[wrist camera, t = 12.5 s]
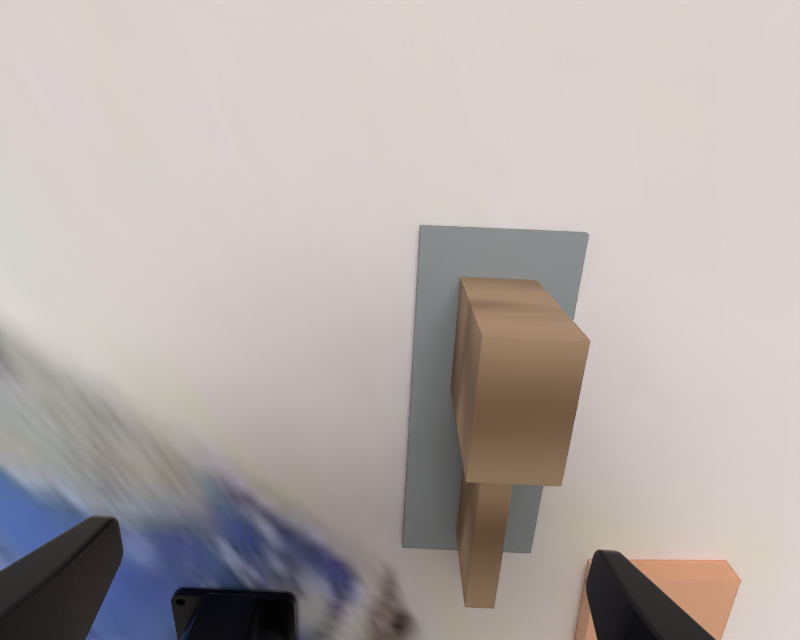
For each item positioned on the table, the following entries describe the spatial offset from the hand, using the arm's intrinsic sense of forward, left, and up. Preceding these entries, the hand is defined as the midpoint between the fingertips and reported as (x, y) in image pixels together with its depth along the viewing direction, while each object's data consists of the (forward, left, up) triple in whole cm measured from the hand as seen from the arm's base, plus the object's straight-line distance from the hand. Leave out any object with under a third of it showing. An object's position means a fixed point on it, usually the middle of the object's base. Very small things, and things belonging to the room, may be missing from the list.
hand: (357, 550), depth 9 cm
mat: (-4, -4, -12) cm, 13 cm away
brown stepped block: (-4, -4, -11) cm, 13 cm away
